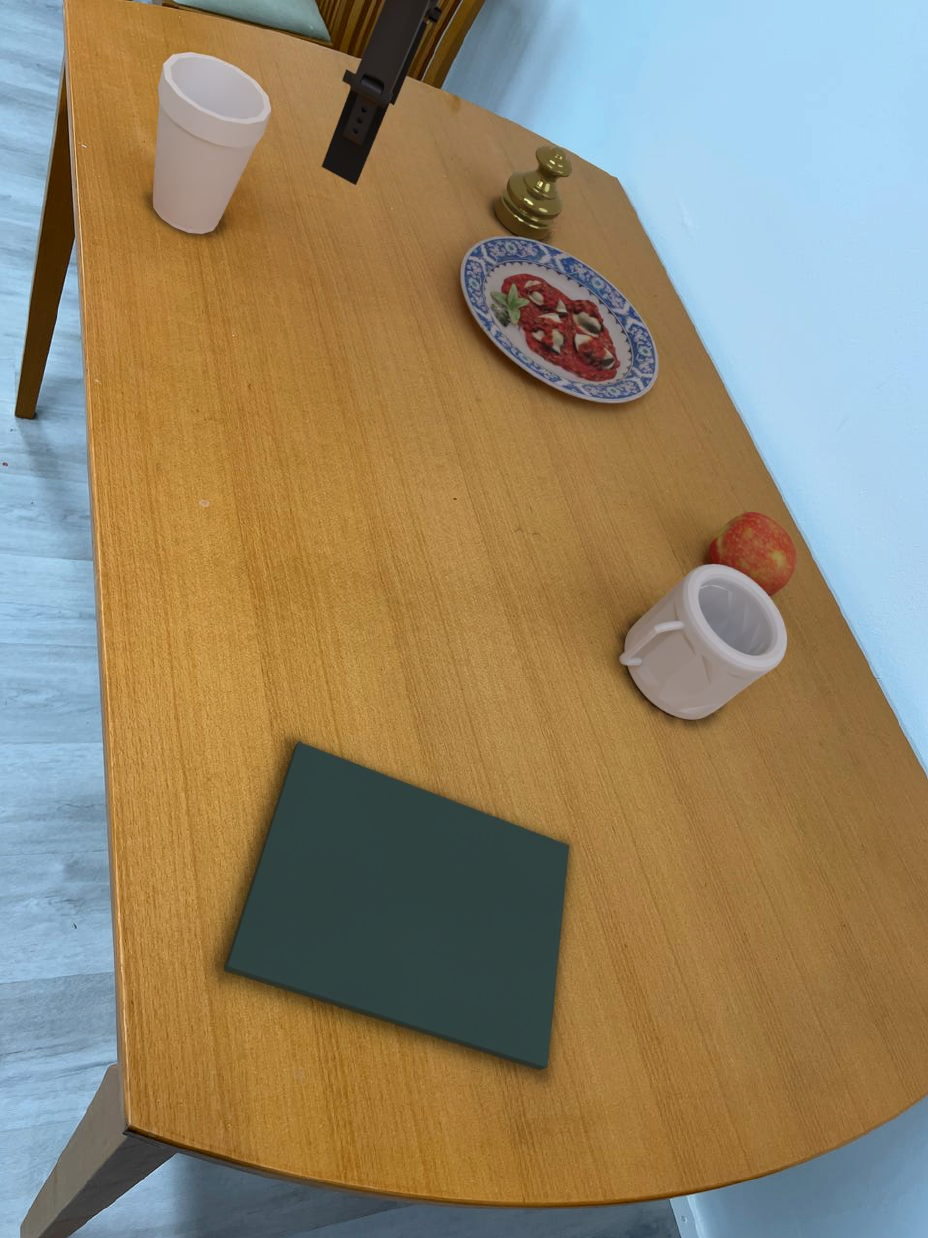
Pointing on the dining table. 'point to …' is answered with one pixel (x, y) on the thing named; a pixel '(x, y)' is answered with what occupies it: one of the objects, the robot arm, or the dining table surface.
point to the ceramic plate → (559, 319)
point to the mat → (406, 909)
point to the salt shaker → (534, 195)
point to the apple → (756, 550)
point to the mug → (704, 642)
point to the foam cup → (203, 138)
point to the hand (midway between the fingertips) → (360, 132)
